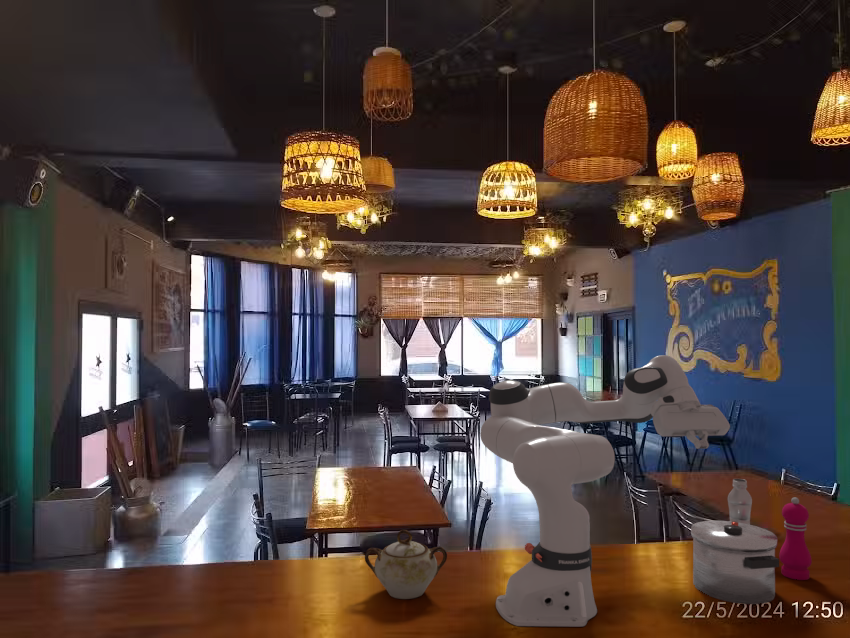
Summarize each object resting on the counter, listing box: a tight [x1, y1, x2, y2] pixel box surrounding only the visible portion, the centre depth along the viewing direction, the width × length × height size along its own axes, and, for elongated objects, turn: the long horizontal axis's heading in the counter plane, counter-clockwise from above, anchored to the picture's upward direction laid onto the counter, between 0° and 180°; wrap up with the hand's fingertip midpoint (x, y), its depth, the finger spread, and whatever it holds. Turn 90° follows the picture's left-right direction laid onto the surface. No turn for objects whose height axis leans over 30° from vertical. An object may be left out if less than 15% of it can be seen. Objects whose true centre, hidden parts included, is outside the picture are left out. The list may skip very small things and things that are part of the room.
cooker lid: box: [690, 520, 778, 552], centre depth 159 cm, size 19×19×3 cm
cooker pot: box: [692, 537, 780, 605], centre depth 159 cm, size 18×22×12 cm
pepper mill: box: [778, 497, 813, 581], centre depth 168 cm, size 7×7×20 cm
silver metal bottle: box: [727, 478, 753, 525], centre depth 186 cm, size 6×7×20 cm
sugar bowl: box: [364, 529, 448, 600], centre depth 156 cm, size 20×15×15 cm
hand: (703, 447), depth 171 cm, fingers closed
